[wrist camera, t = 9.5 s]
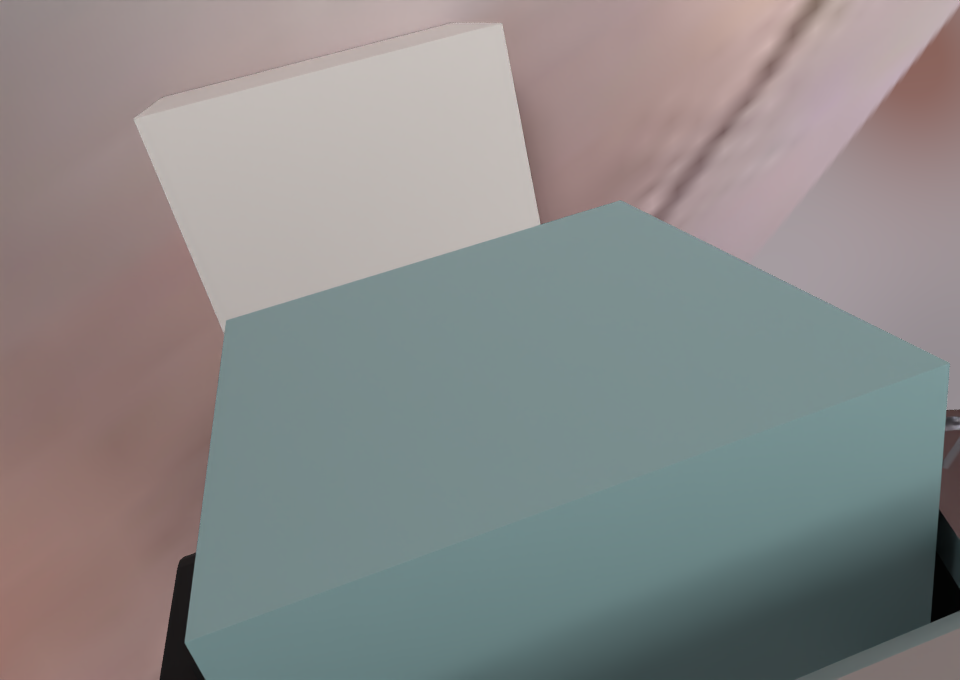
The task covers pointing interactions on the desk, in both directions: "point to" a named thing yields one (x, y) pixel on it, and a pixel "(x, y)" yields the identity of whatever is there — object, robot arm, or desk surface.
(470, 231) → the cream block
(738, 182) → the desk surface
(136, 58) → the desk surface
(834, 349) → the teal cube
